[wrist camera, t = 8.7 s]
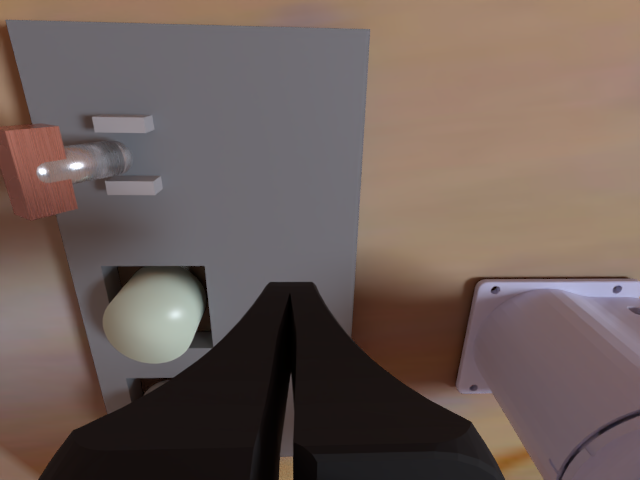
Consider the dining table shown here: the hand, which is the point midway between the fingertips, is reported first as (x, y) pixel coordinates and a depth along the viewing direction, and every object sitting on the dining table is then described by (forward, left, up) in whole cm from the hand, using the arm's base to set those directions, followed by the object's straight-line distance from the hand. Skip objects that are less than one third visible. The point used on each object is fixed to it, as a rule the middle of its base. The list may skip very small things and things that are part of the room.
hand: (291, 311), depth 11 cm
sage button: (+7, +5, -9) cm, 12 cm away
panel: (+4, +4, -9) cm, 11 cm away
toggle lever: (+7, -3, -7) cm, 11 cm away
